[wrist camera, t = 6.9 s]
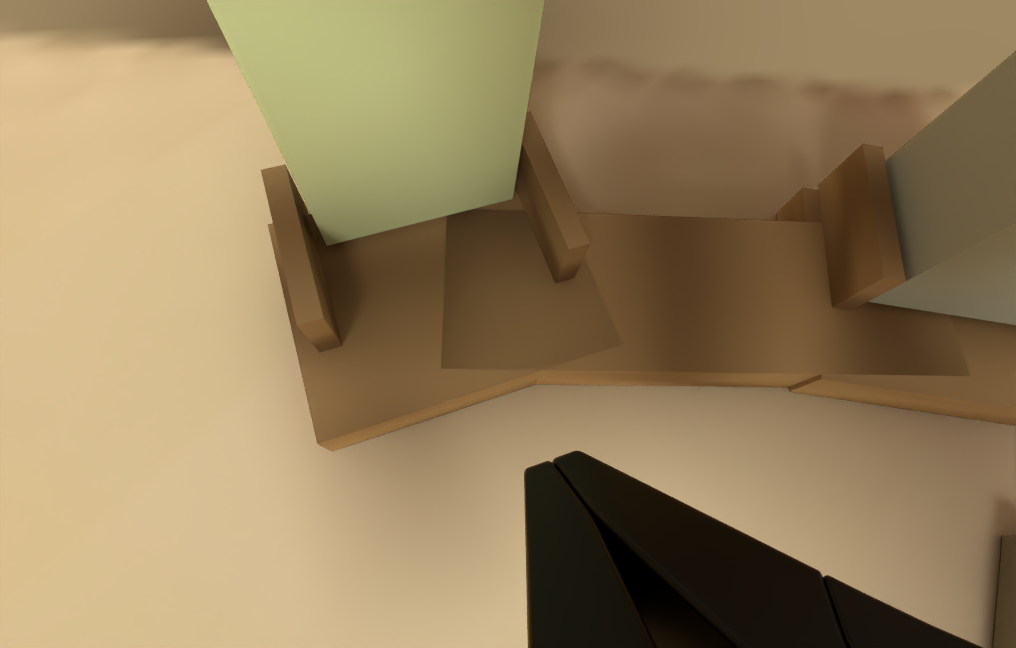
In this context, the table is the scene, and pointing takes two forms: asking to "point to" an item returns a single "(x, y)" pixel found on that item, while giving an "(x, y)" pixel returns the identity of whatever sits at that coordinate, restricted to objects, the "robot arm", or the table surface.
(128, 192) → the table surface
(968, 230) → the slate key
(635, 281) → the brown holder tray
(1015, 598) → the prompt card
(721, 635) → the robot arm
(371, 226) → the sage key
